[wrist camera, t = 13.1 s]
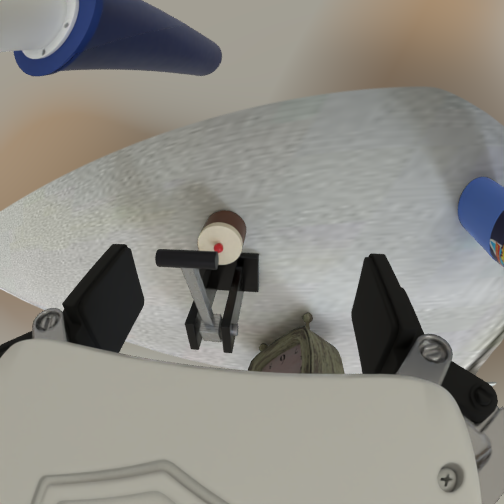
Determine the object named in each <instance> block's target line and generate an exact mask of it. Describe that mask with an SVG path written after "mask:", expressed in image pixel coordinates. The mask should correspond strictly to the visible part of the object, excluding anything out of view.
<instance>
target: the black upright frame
mask: <svg viewBox="0 0 504 504" xmlns="http://www.w3.org/2000/svg"><path fill="white" fill-rule="evenodd" d="M199 272H200V275H201V278H202V281H203V284H204V288H205V291H206V294H207V297H208V300H209V303H210V306H211V307H212V304H213V301H214V297H215V294H216V291H217V290H229V295H228V299H227V303H226V307H225V311H224V315H223V319H222V323H221V334H222V342H223V350H224V352H225V353H232V351H233V346H234V341H235V336H237V335H238V320H239V314H240V309H241V304H242V299H243V293H244V291H247V292H258V290H259V254H250V253H241V254H240V256H239V257H238V258H237V259H236V260H235V261H234V262H232V263H230V264H226V265H218V268H217V269H216V270H211V269H199ZM201 319H202V318H201V316H200V314H199V311H198V309H197V306H196V304H195V302H194V301H193V304H192V306H191V309H190V311H189V314H188V317H187V319H186V322H185V326H186V330H187V335H188V339H189V343H190V347H191V349H196V350H199V347H200V344H201V340H202V336H201V334H200V332H199V329H200V324H201Z"/></svg>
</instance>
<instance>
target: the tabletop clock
mask: <svg viewBox="0 0 504 504" xmlns="http://www.w3.org/2000/svg"><path fill="white" fill-rule="evenodd" d="M312 319H313V317H312V315H311V314H310V313H306V314H304V315H303V321H304V322H305V323H306V327H305V326H303V327H299V328H297V329H294V330H293V331H291V332H289V333H288V334H286V335H284V336H283V337H281V338H279V339H278V340H276V341H275V342H273V343H272V344H271V345H269V346H267V345H266V344H261V345H260V347H259V350H260V351H261V352H260V353H259V354H258V355H257V356H256V357H255V358H254V359H253V360H252V361H251V363H250V366H249V368H248V371H257V372H274V373H299V374H344V369H343V364H342V360H341V357H340V354H339V352H338V350H337V349H336V348H335V347H334V346H333V345H331V344H330V343H328V342H327V341H325V340H324V339H322V338H321V337H319V336H318V335H316V334H315V333H314V332H312V331H311V330H310V327H309V323H310V322H311V321H312Z"/></svg>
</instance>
